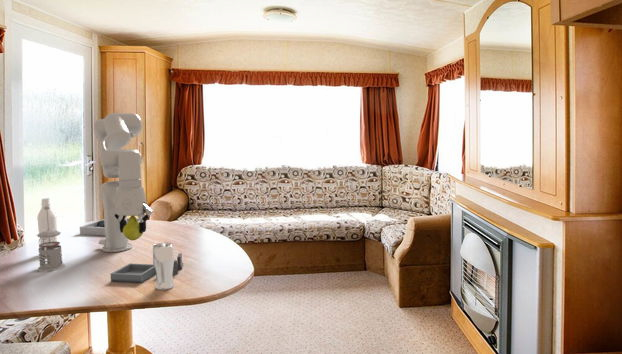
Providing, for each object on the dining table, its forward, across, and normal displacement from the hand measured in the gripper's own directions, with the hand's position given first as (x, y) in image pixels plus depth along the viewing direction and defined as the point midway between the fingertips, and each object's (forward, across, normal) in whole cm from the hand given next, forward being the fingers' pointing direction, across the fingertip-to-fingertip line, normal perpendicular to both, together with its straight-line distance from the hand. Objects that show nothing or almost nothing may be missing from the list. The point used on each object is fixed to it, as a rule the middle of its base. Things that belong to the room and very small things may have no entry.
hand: (133, 231), depth 155 cm
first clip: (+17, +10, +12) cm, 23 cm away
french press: (+17, -41, +6) cm, 45 cm away
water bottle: (+17, -55, +22) cm, 62 cm away
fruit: (+3, 0, 0) cm, 3 cm away
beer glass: (+18, +16, -8) cm, 25 cm away
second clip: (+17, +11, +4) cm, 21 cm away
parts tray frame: (+17, -55, +69) cm, 90 cm away
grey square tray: (+17, 0, 0) cm, 17 cm away
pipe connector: (+18, -57, +68) cm, 90 cm away
